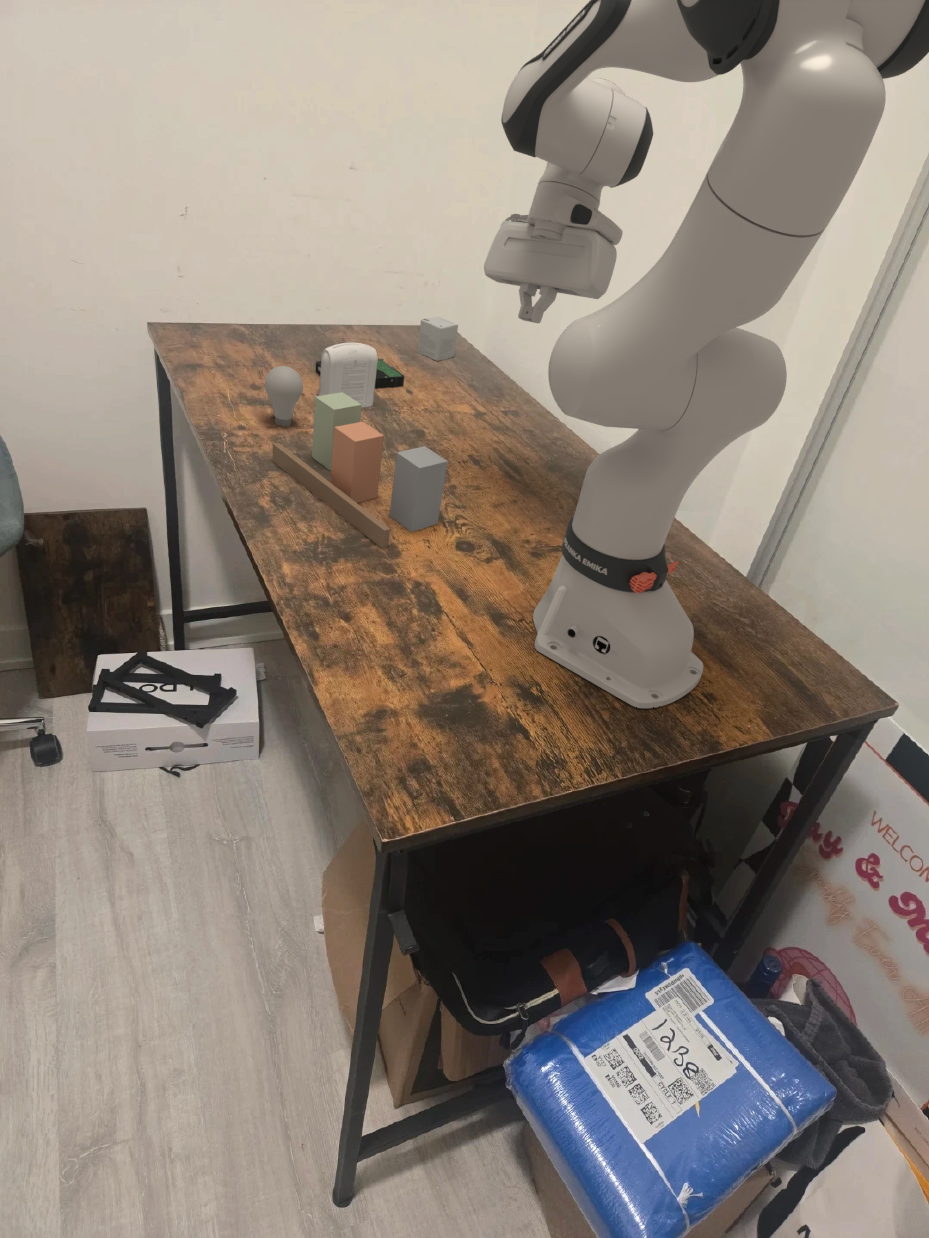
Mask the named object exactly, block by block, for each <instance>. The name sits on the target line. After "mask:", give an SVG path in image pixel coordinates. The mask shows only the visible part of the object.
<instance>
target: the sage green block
mask: <svg viewBox="0 0 929 1238" xmlns="http://www.w3.org/2000/svg"><path fill="white" fill-rule="evenodd" d="M362 408H363V407H362V405H361V404H360V403H358V402H357V401H355V400H354V399H352V398H351V397H349V396H348V395H346V394H344V393H343V392H341V393H334V394H328V395H322V396H319V395H317V396H314V411H313V427H312V428H313V430H312V432H313V433H312V446H311V447H312V450H311V451H312V452H311V458H313V459H314V460H315V461H316V462H318V463H319V464H320V465H322V467H324V468H326V469H327V470H328V471H329V472H331V470H332V455H333V440H334V427H337V426H342V425H348V424H353V423H358V422H361V418H362Z"/></svg>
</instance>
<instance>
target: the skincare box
mask: <svg viewBox="0 0 929 1238" xmlns="http://www.w3.org/2000/svg"><path fill="white" fill-rule="evenodd" d="M458 328H459V324H458V323H455V322H453V321H450V320H448V319H445V318H444V317H441V316H432V317H427V318H422V319H421V320H420V328H419V336H418V344H417V345H418V347H417V353H418V354H420V355H422V356H425V357H427V358H429V359H431V360H434V361H435V362H439V361H444V360H446V359H452V358H454V357H455V351H456V345H457V344H456V343H457V337H458V336H457V335H458V330H459V329H458Z"/></svg>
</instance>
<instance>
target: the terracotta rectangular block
mask: <svg viewBox="0 0 929 1238" xmlns="http://www.w3.org/2000/svg"><path fill="white" fill-rule="evenodd" d="M384 437H385V436H384V434H383V433H381V432H380V431H378V430H376V429H375V428H373V427H372V426H370V425H369V424H368V423H367V422H365V421H360V422H358V423H353V424H348V425H342V426H337V427H334V440H333V455H332V470H331V471H330V474H331V475H330V483H332V484H333V485H334V486H335V487H337V488H338V489H339V490H341V491H342V492H343V493H345V494H346V495H347V496H348V497H350V498H351V499H352V500H354V501H355V502H356V503H357V504H359V503H363V502H367V501H370V500H375V499H378V494H379V486H380V477H381V476H380V475H381V467H382V457H383V456H382V455H383V448H384V440H385V439H384Z"/></svg>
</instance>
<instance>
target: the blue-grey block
mask: <svg viewBox="0 0 929 1238" xmlns="http://www.w3.org/2000/svg"><path fill="white" fill-rule="evenodd" d="M448 462H449V461H448V460H446V459H445V458H443V457H442V456H440V455H439V454H437V453H436V452H434V451H433V450H431V449H430V448H428V447H427V446H426V445H424V446H423V445H422V446H420V447H415V448H410V449H407V450H402V451H398V452H396V456H395V463H394V464H395V465H394V472H393V473H394V474H393V483H392V488H391V489H392V491H391V498H390V507H389V513H388V515H389V517H390V518H391V519H392V520H394V521H395V522H397V523H398V524H399V525H401V526H402V527H403V528H405V529H406V530H407V531H409V532H410V533H412V532H416V531H419V530H422V529H425V528H428V527H432V526H435V525H438V524H439V523H438V522H439V517H440V511H441V505H442V504H441V503H442V499H443V494H444V493H443V492H444V486H445V480H446V475H447V468H448Z"/></svg>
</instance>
